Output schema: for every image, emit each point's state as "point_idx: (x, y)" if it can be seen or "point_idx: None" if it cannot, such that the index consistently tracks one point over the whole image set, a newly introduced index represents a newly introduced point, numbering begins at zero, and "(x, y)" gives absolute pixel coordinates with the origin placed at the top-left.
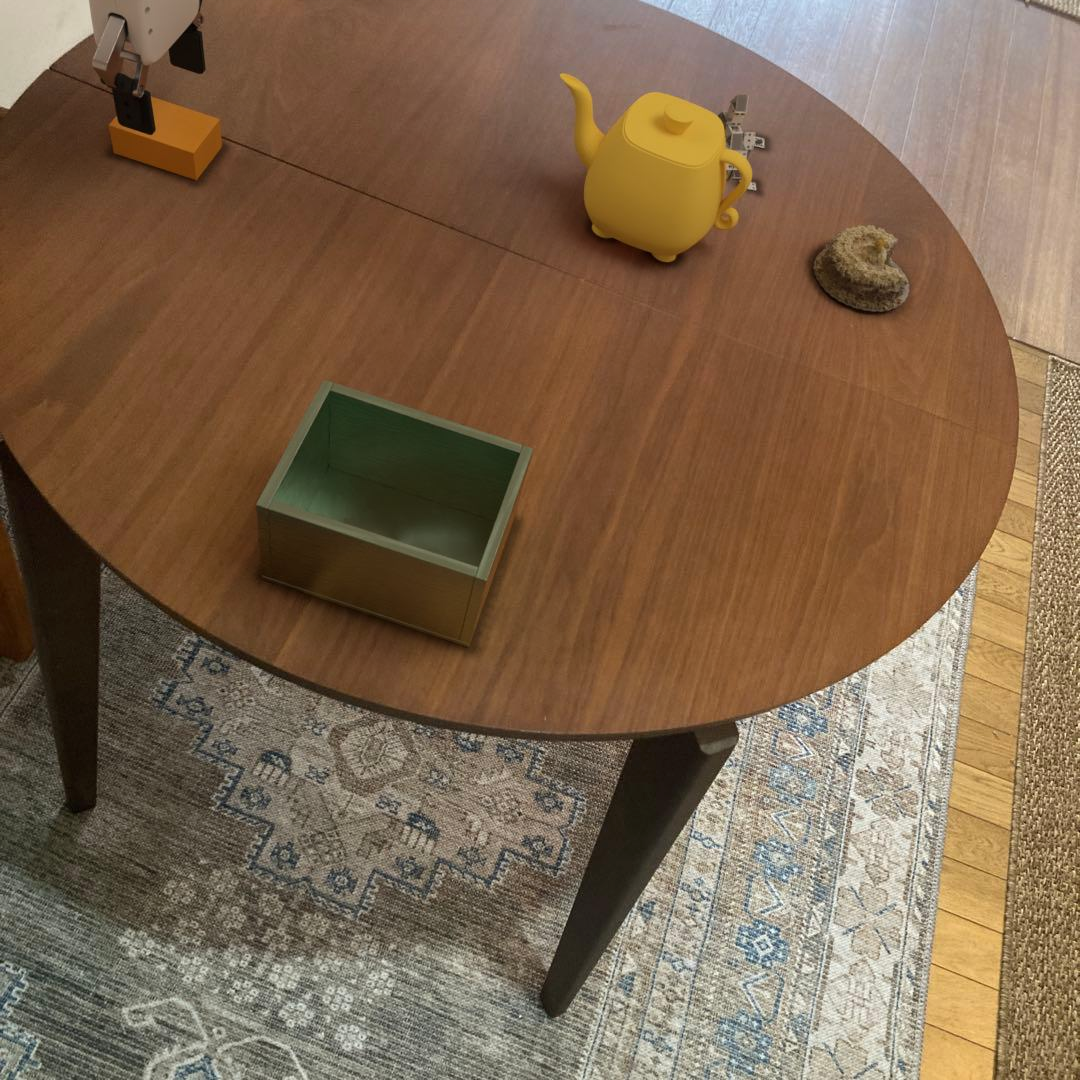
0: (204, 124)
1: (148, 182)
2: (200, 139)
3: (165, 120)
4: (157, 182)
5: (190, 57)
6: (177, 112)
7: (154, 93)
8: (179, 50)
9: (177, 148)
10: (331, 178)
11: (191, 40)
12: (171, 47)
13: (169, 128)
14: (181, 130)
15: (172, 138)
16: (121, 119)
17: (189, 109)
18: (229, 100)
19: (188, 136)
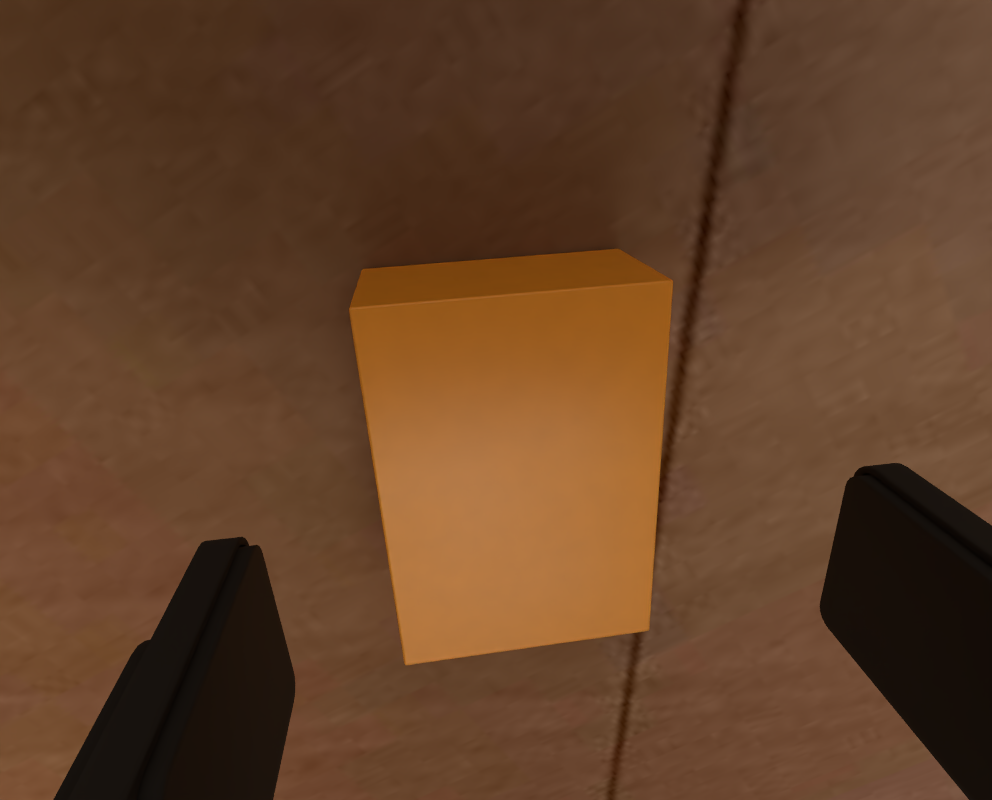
0: (588, 612)
1: (296, 463)
2: (496, 642)
3: (533, 491)
4: (316, 486)
5: (884, 641)
6: (612, 499)
7: (810, 191)
8: (918, 606)
9: (396, 610)
10: (618, 794)
11: (980, 762)
12: (934, 561)
13: (491, 531)
14: (505, 572)
15: (439, 570)
16: (136, 650)
17: (654, 524)
18: (860, 443)
19: (487, 606)
